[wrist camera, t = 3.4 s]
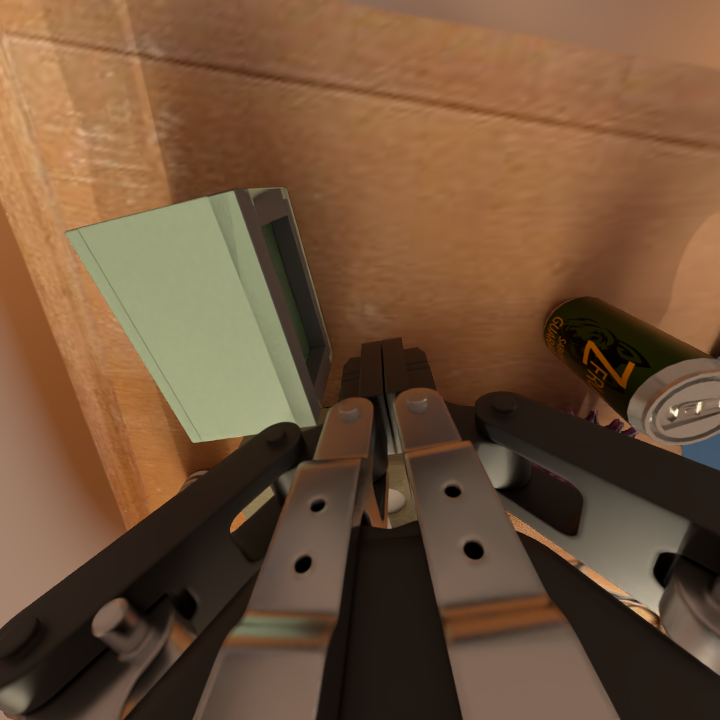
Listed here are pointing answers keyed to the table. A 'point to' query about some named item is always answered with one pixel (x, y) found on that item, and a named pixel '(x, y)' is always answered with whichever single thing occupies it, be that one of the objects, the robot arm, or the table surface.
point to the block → (704, 451)
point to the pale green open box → (217, 308)
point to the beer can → (638, 370)
